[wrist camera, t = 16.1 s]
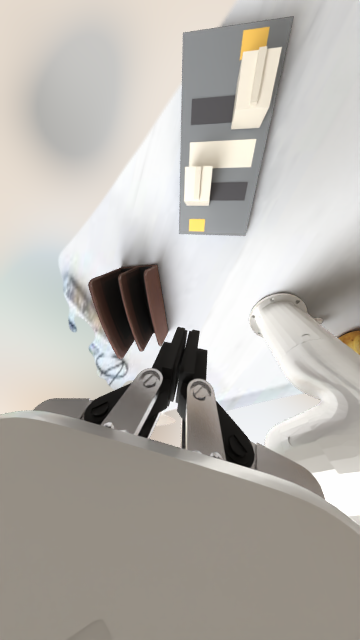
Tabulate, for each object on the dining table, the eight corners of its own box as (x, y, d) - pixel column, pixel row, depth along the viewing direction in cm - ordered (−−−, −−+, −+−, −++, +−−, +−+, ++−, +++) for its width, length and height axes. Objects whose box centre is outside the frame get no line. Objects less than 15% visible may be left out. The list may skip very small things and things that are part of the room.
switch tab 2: (268, 81, 19) (284, 40, 15) (259, 127, 21) (271, 102, 17) (236, 84, 19) (244, 45, 16) (230, 129, 21) (236, 105, 18)
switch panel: (285, 36, 18) (294, 15, 17) (243, 235, 30) (245, 235, 28) (185, 49, 20) (182, 31, 18) (180, 233, 31) (178, 233, 29)
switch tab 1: (211, 175, 24) (212, 164, 20) (208, 205, 26) (209, 200, 22) (188, 176, 25) (184, 165, 21) (187, 205, 27) (183, 200, 23)
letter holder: (139, 331, 47) (115, 363, 35) (121, 267, 37) (79, 281, 25) (168, 331, 45) (154, 366, 33) (157, 264, 35) (132, 278, 23)
